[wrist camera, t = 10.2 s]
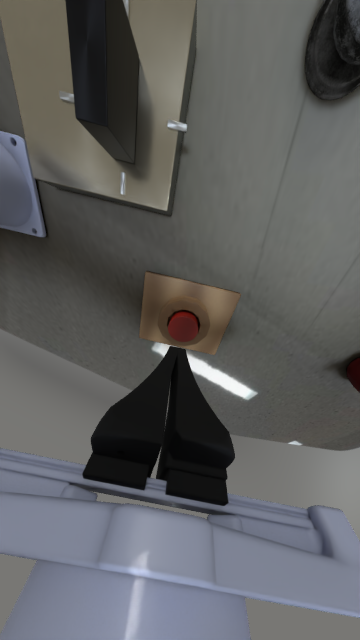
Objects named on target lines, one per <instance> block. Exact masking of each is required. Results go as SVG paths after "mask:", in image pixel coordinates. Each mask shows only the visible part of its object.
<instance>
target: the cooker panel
mask: <svg viewBox="0 0 360 640" xmlns="http://www.w3.org/2000/svg"><path fill="white" fill-rule="evenodd" d="M123 2H124V6H125V9H126V12H127V16H128V19H129V23H130V26H131V30H132V33H133V37H134V40H135V44H136V47H137V50H138V54H139V67H138V90H137V112H136V135H135V157H134V163H130V162H126V161H123V160H119V159H115V158H112V157H111V156H110V155H109V154H108V152H107V151H106V150H105V149H104V148H103V147H102V146H101V145H100V144H99V143H98V142H97V141H96V140H95V138H94V137H93V136H92V135H91V134H90V133H89V132H88V131H87V130H86V129H85V128H84V127H83V125H82V124H81V123H80V122H79V121H78V120H77V119H76V116H75V105H74V94H73V82H72V71H71V59H70V48H69V36H68V25H67V13H66V2H65V0H0V19H1V24H2V29H3V33H4V38H5V43H6V48H7V53H8V57H9V62H10V67H11V72H12V77H13V82H14V86H15V91H16V96H17V101H18V106H19V111H20V115H21V120H22V125H23V130H24V135H25V139H26V144H27V149H28V154H29V159H30V164H31V168H32V173H33V177H34V178H35V179H37V180H39V181H42V182H44V183H47V184H49V185H51V186H54V187H56V188H59V189H63V190H67V191H71V192H75V193H79V194H83V195H87V196H91V197H95V198H99V199H103V200H107V201H111V202H115V203H119V204H123V205H127V206H131V207H135V208H139V209H143V210H147V211H151V212H155V213H159V214H163V215H167V216H171V214H172V207H173V201H174V194H175V187H176V181H177V174H178V167H179V161H180V154H181V147H182V141H183V134H184V133H186V131H187V124H185V121H186V114H187V107H188V101H189V94H190V88H191V81H192V74H193V68H194V61H195V54H196V28H197V0H123Z"/></svg>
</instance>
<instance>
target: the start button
mask: <svg viewBox="0 0 360 640" xmlns="http://www.w3.org/2000/svg"><path fill="white" fill-rule="evenodd" d="M168 332H169V334H170V336H171V337H172V338H173V339H175V340H176V341H179V342H188V341H191V340H192V339H194V338H195V337H196V335H197V333H198V321H197V319H196V317H195V316H194V315H193V314H192V313H190V312H187V311H180V312H177V313H175V314H174V315H173V316H172V317H171V319H170V322H169V325H168Z"/></svg>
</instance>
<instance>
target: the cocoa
mask: <svg viewBox="0 0 360 640" xmlns="http://www.w3.org/2000/svg"><path fill="white" fill-rule="evenodd" d="M347 377H348V379H349V381H350V382H351V384H352V385H353V386H354V387H355V388H356V389H357V391H358V392H359V393H360V358H357V359H355V360H354V361H352V362H351V363H350V364H349V366H348V367H347Z"/></svg>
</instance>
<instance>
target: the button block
mask: <svg viewBox="0 0 360 640" xmlns="http://www.w3.org/2000/svg"><path fill="white" fill-rule="evenodd" d="M240 296H241V294H240V293H238V292H233V291H229V290H225V289H221V288H217V287H213V286H208V285H204V284H200V283H196V282H192V281H187V280H183V279H179V278H175V277H171V276H167V275H162V274H158V273H154V272H150V271H146V272H145V280H144V290H143V301H142V312H141V323H140V333H139V338H142V339H147V340H151V341H155V342H160V343H164V344H168V345H173V346H177V347H182V348H186V349H190V350H195V351H199V352H203V353H208V354H212V355H215V353H216V351H217V349H218V346H219V344H220V342H221V339H222V337H223V335H224V333H225V330H226V328H227V326H228V324H229V321H230V319H231V317H232V314H233V312H234V310H235V308H236V305H237V303H238V301H239V298H240ZM180 311H187V312H190V313H192V314H193V315H194V316H195V317H196V319H197V321H198V333H197V335H196V337H195V338H194V339H192V340H191V341H188V342H179V341H176V340H175V339H173V338H172V337H171V336H170V334H169V332H168V325H169V322H170V319H171V317H172V316H173V315H174V314H175V313H177V312H180Z"/></svg>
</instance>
